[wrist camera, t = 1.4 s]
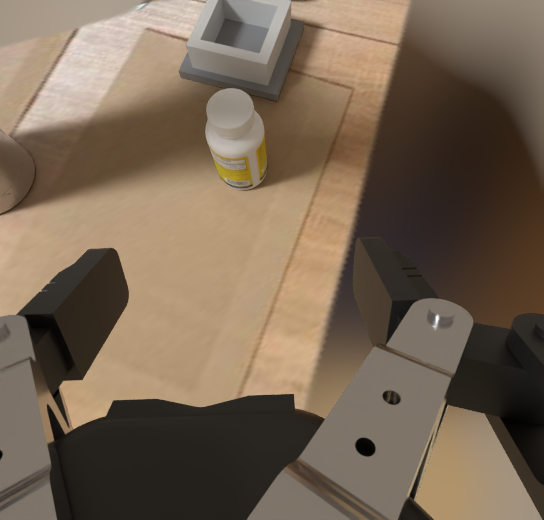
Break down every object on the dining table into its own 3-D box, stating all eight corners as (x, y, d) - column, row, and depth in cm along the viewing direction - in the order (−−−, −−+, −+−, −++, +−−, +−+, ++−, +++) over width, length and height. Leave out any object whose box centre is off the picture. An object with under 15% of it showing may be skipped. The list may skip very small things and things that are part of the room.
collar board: (181, 77, 41) (170, 49, 38) (212, 9, 44) (206, -24, 40) (277, 101, 40) (276, 74, 36) (303, 29, 43) (305, -3, 39)
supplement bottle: (250, 139, 39) (241, 70, 30) (277, 175, 38) (276, 115, 28) (209, 163, 38) (185, 100, 29) (234, 200, 37) (219, 147, 28)
